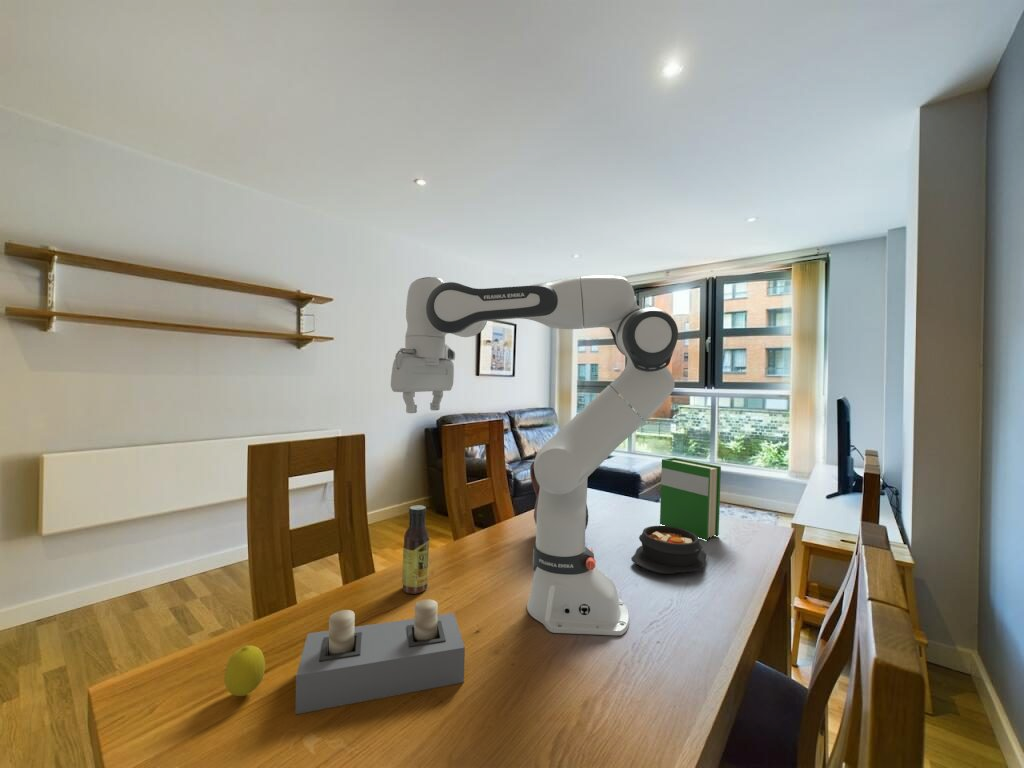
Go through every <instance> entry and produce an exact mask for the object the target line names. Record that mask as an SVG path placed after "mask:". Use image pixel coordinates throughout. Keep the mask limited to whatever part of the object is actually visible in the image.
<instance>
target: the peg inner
mask: <svg viewBox="0 0 1024 768" xmlns="http://www.w3.org/2000/svg"><path fill="white" fill-rule="evenodd" d="M438 609H439V605H438V602H437V601H436V600H434V599H429V598H428V599H427V598H426V599H421V600H418V601H417V602H415V605H414V618H415V623H414V640H415V642H420V641H426V640H433V639H437V615H439V614H438V611H439V610H438Z"/></svg>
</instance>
